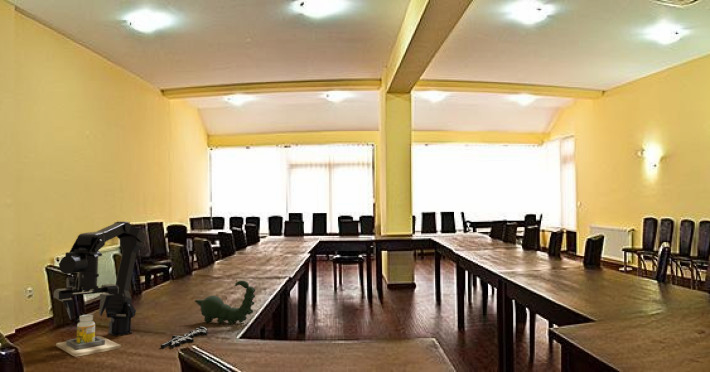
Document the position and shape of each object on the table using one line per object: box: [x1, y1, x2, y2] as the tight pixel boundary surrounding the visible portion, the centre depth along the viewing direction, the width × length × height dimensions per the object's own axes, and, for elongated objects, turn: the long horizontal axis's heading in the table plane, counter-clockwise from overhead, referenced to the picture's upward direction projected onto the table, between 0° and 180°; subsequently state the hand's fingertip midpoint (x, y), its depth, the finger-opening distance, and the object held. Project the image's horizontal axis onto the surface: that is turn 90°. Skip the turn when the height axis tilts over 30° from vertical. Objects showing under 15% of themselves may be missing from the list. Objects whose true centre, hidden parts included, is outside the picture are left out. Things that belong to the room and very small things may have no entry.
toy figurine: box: [194, 280, 256, 326], centre depth 203 cm, size 9×19×25 cm
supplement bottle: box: [76, 314, 96, 344], centre depth 164 cm, size 5×5×10 cm
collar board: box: [55, 335, 122, 358], centre depth 164 cm, size 14×18×2 cm
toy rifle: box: [160, 326, 209, 350], centre depth 177 cm, size 27×2×10 cm
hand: (86, 317), depth 164 cm, fingers open, 9 cm apart
